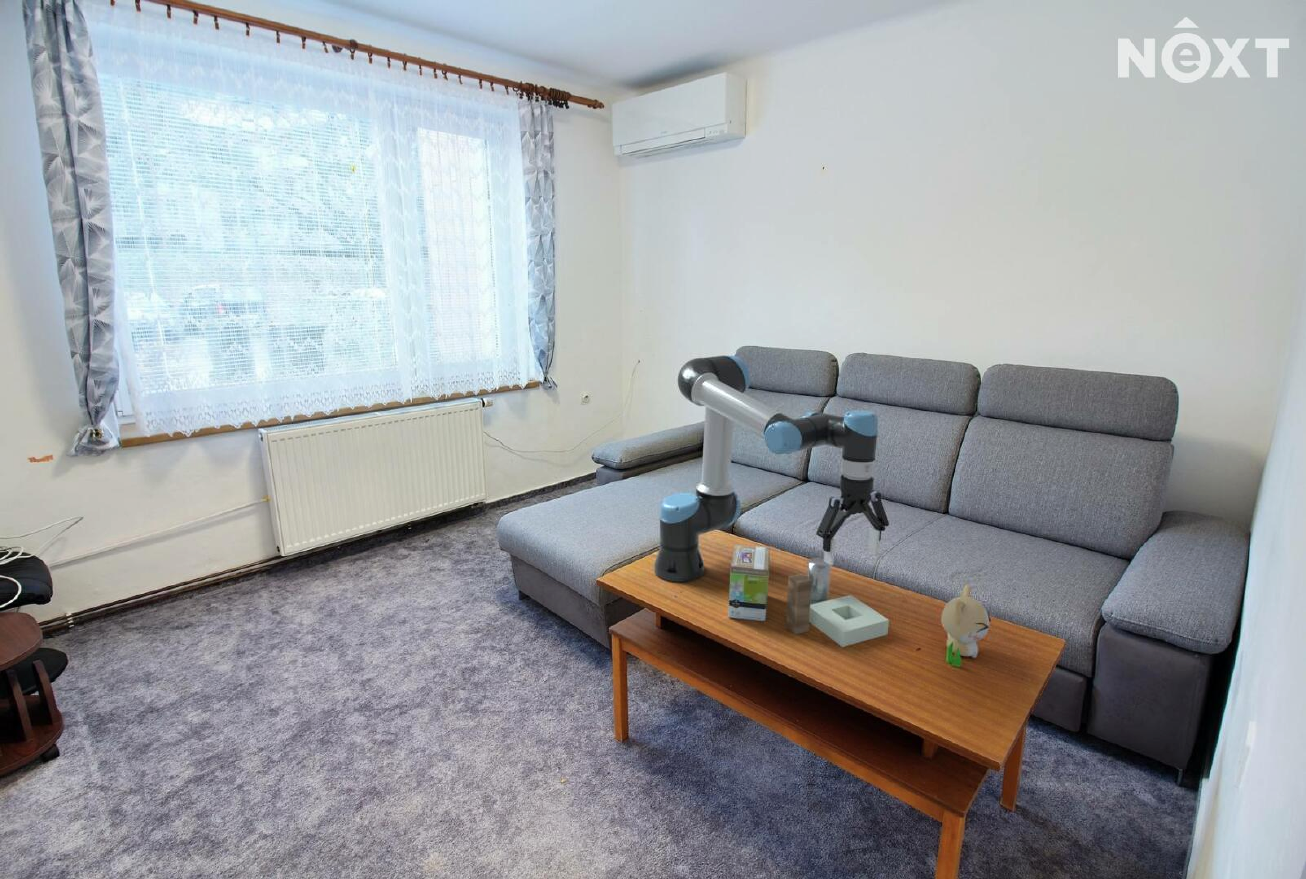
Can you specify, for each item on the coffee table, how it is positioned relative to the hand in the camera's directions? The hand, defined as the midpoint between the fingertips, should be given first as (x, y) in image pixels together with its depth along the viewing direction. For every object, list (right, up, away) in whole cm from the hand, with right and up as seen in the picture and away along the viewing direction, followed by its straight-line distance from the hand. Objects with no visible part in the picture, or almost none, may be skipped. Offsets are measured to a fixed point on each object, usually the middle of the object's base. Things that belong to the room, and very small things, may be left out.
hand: (851, 558), depth 152 cm
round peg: (-4, -15, +16) cm, 23 cm away
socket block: (0, -18, +4) cm, 19 cm away
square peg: (-13, -18, +3) cm, 23 cm away
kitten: (+24, -21, -7) cm, 32 cm away
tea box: (-23, -16, +15) cm, 32 cm away
